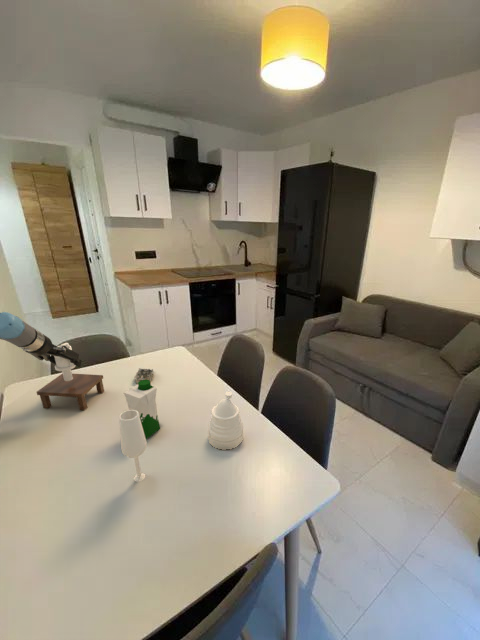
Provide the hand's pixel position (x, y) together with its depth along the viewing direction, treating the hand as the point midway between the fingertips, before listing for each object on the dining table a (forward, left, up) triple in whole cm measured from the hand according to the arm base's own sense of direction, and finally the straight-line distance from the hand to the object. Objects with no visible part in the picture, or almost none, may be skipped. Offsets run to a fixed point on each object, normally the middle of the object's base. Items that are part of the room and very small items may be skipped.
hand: (70, 363), depth 121 cm
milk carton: (+38, -20, -16) cm, 46 cm away
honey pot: (+68, -21, -16) cm, 73 cm away
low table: (0, -2, -16) cm, 16 cm away
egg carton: (+22, +18, -16) cm, 33 cm away
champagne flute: (+45, -42, -16) cm, 64 cm away
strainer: (0, -3, -6) cm, 7 cm away
